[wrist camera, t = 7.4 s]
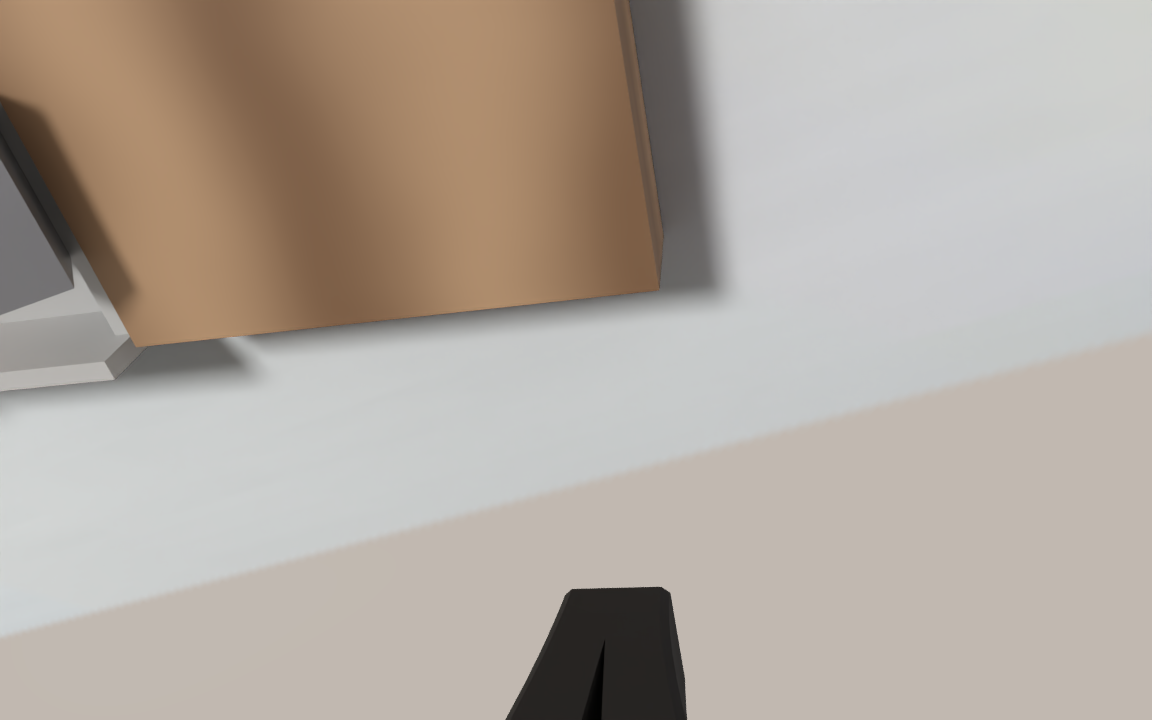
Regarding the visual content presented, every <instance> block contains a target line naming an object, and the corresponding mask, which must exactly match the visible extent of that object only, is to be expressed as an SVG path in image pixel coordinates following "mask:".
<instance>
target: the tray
mask: <svg viewBox="0 0 1152 720" xmlns="http://www.w3.org/2000/svg"><path fill="white" fill-rule="evenodd" d="M0 132H1V133H2V135H3V137H4V139H5V140H6V142H7V144H8V146H9V148H10V149H11V151H12V153H13V155H14V156H15V158H16V160H17V162H18V164H19V165H20V167H21V169H22V171H23V172H24V174H25V176H26V178H27V179H28V181H29V183H30V185H31V187H32V188H33V190H34V192H35V194H36V195H37V197H38V199H39V201H40V203H41V204H42V206H43V208H44V210H45V211H46V213H47V215H48V217H49V219H50V220H51V222H52V224H53V226H54V227H55V229H56V231H57V233H58V234H59V236H60V238H61V240H62V242H63V243H64V245H65V247H66V249H67V250H68V252H69V254H70V256H71V262H72V271H73V279H74V289H71V290H69V291H66V292H63V293H60V294H58V295H55V296H52V297H49V298H46V299H44V300H41V301H38V302H35V303H33V304H30V305H27V306H24V307H22V308H19V309H16V310H13V311H11V312H8V313H5V314H2V315H0V391H8V390H18V389H28V388H38V387H48V386H57V385H67V384H77V383H87V382H97V381H107V380H115V379H116V378H117V377H118V376H119V375H120V374H121V373H122V372H123V371H124V370H125V369H126V368H127V367H128V366H129V365H130V364H131V363H132V362H133V361H134V360H135V359H136V358H137V357H138V356H139V355H140V354H141V353H142V352H143V351H144V350H145V349H146V348H147V347H148V346H144V347H135V345H134V343H133V341H132V339H131V338H130V336H129V334H128V332H127V330H126V329H125V327H124V325H123V323H122V321H121V320H120V318H119V316H118V314H117V312H116V310H115V309H114V307H113V305H112V303H111V301H110V300H109V298H108V296H107V294H106V292H105V291H104V289H103V287H102V285H101V283H100V282H99V280H98V278H97V276H96V274H95V273H94V271H93V269H92V267H91V265H90V263H89V262H88V260H87V258H86V256H85V254H84V253H83V251H82V249H81V247H80V245H79V244H78V242H77V240H76V238H75V236H74V235H73V233H72V231H71V229H70V227H69V226H68V224H67V222H66V220H65V218H64V216H63V215H62V213H61V211H60V209H59V207H58V206H57V204H56V202H55V200H54V198H53V197H52V195H51V193H50V191H49V189H48V188H47V186H46V184H45V182H44V180H43V179H42V177H41V175H40V173H39V171H38V169H37V168H36V166H35V164H34V162H33V160H32V159H31V157H30V155H29V153H28V151H27V150H26V148H25V146H24V144H23V142H22V141H21V139H20V137H19V135H18V133H17V132H16V130H15V128H14V126H13V124H12V122H11V121H10V119H9V117H8V115H7V113H6V112H5V110H4V108H3V106H2V104H1V103H0Z"/></svg>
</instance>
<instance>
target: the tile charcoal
mask: <svg viewBox="0 0 1152 720" xmlns="http://www.w3.org/2000/svg"><path fill="white" fill-rule="evenodd" d="M71 289H74V279H73V271H72V262H71V256H70V254H69V252H68V250H67V249H66V247H65V245H64V243H63V242H62V240H61V238H60V236H59V234H58V233H57V231H56V229H55V227H54V226H53V224H52V222H51V220H50V219H49V217H48V215H47V213H46V211H45V210H44V208H43V206H42V204H41V203H40V201H39V199H38V197H37V195H36V194H35V192H34V190H33V188H32V187H31V185H30V183H29V181H28V179H27V178H26V176H25V174H24V172H23V171H22V169H21V167H20V165H19V164H18V162H17V160H16V158H15V156H14V155H13V153H12V151H11V149H10V148H9V146H8V144H7V142H6V140H5V139H4V137H3V135H2V133H1V132H0V315H2V314H5V313H8V312H11V311H13V310H16V309H19V308H22V307H24V306H27V305H30V304H33V303H35V302H38V301H41V300H44V299H46V298H49V297H52V296H55V295H58V294H60V293H63V292H66V291H69V290H71Z"/></svg>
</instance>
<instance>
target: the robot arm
mask: <svg viewBox="0 0 1152 720" xmlns="http://www.w3.org/2000/svg"><path fill="white" fill-rule="evenodd" d="M506 720H687V714H686V696H685V677H684V671H683V665H682V660H681V653H680V648H679V641H678V635H677V630H676V624H675V618H674V613H673V606H672V600H671V594H670V592H668V591H667V590H665V589H663V588H662V587H638V588H601V589H600V588H598V589H572V590H570V592H568V593H567V594H566V595H565V597H564V600H563V602H562V604H561V607H560V610H559V612H558V614H557V617H556V619H555V621H554V623H553V626H552V628H551V630H550V632H549V635H548V637H547V639H546V641H545V644H544V646H543V648H542V650H541V652H540V654H539V656H538V658H537V660H536V662H535V664H534V666H533V668H532V670H531V672H530V674H529V676H528V678H527V680H526V682H525V684H524V686H523V688H522V690H521V692H520V694H519V695H518V697H517V699H516V701H515V703H514V705H513V707H512V709H511V710H510V712H509V714H508V716H507V718H506Z"/></svg>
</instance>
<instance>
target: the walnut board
mask: <svg viewBox="0 0 1152 720" xmlns="http://www.w3.org/2000/svg"><path fill="white" fill-rule="evenodd" d="M0 103H1V104H2V106H3V108H4V110H5V112H6V113H7V115H8V117H9V119H10V121H11V122H12V124H13V126H14V128H15V130H16V132H17V133H18V135H19V137H20V139H21V141H22V142H23V144H24V146H25V148H26V150H27V151H28V153H29V155H30V157H31V159H32V160H33V162H34V164H35V166H36V168H37V169H38V171H39V173H40V175H41V177H42V179H43V180H44V182H45V184H46V186H47V188H48V189H49V191H50V193H51V195H52V197H53V198H54V200H55V202H56V204H57V206H58V207H59V209H60V211H61V213H62V215H63V216H64V218H65V220H66V222H67V224H68V226H69V227H70V229H71V231H72V233H73V235H74V236H75V238H76V240H77V242H78V244H79V245H80V247H81V249H82V251H83V253H84V254H85V256H86V258H87V260H88V262H89V263H90V265H91V267H92V269H93V271H94V273H95V274H96V276H97V278H98V280H99V282H100V283H101V285H102V287H103V289H104V291H105V292H106V294H107V296H108V298H109V300H110V301H111V303H112V305H113V307H114V309H115V310H116V312H117V314H118V316H119V318H120V320H121V321H122V323H123V325H124V327H125V329H126V330H127V332H128V334H129V336H130V338H131V339H132V341H133V343H134V345H135V347H144V346H153V345H162V344H171V343H180V342H190V341H199V340H208V339H217V338H226V337H236V336H245V335H254V334H263V333H272V332H281V331H291V330H300V329H309V328H318V327H327V326H336V325H346V324H355V323H364V322H373V321H382V320H391V319H401V318H410V317H419V316H428V315H437V314H446V313H456V312H465V311H474V310H483V309H492V308H501V307H511V306H520V305H529V304H538V303H547V302H556V301H566V300H575V299H584V298H593V297H602V296H612V295H621V294H630V293H639V292H648V291H657V290H659V288H660V275H661V263H662V250H663V238H664V235H663V228H662V222H661V215H660V208H659V201H658V194H657V188H656V181H655V174H654V167H653V161H652V154H651V147H650V140H649V133H648V127H647V120H646V113H645V106H644V99H643V93H642V86H641V79H640V72H639V66H638V59H637V52H636V45H635V38H634V32H633V25H632V18H631V11H630V5H629V0H0Z"/></svg>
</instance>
